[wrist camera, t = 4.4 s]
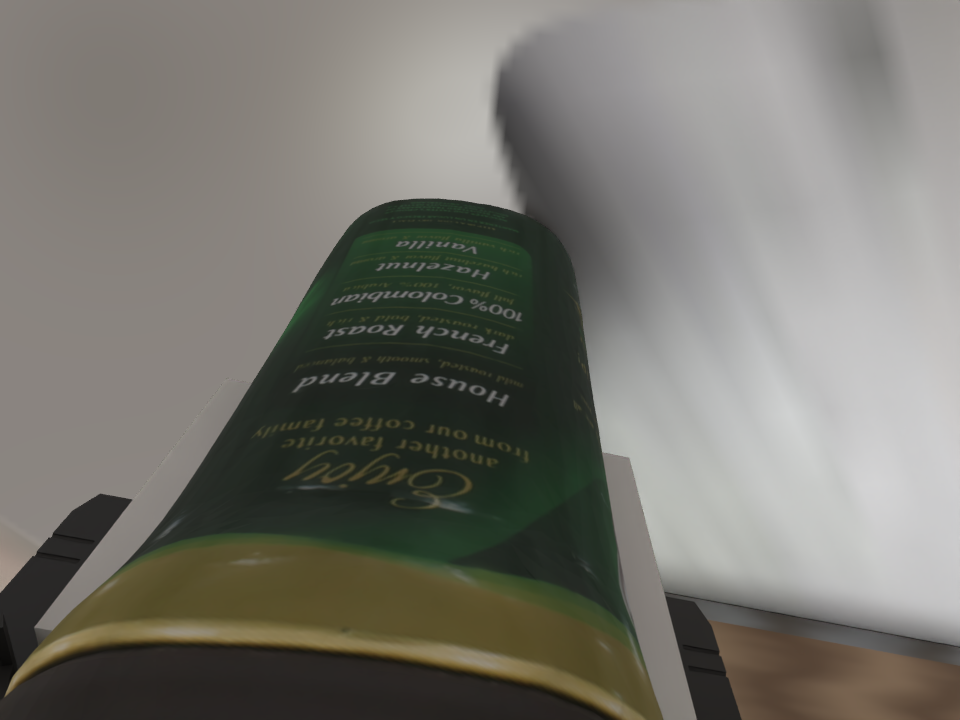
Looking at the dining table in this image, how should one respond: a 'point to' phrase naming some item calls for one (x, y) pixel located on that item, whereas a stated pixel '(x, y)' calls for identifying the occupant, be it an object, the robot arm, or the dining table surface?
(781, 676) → the walnut crate
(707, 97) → the dining table surface
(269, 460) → the coffee jar
